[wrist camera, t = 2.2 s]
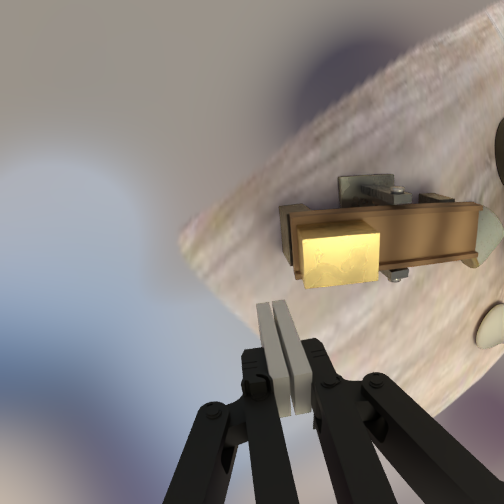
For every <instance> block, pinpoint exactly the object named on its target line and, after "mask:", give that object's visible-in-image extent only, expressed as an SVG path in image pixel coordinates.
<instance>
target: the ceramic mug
mask: <svg viewBox="0 0 504 504" xmlns="http://www.w3.org/2000/svg"><path fill="white" fill-rule="evenodd" d="M480 205H481V204H480ZM482 206H483V205H482ZM503 237H504V228H503V226H502V224H501V222H500V220H499V219H498V217H497V216H496V215H495V214H494V213H493V212H492V211H491V210H490V209H488V208H487V207H485V206H483V211H479V218H478V230H477V240H476V248H475V251H476V252H478V253H479V254H478V257H477V258H471V259H464V260H461V261H462V262H463V263H464V264H465V265H467V266H468V267H470V268H477V267H479V266H480V265H481V264H482V263H483V262H484V261H485V260H486V259H487V258H488V256H489V255H490V254H491V252H492V251H493V250H494V249H495V248H496V246H497V245H498V244H499V243H500V242H501V240H502V239H503Z"/></svg>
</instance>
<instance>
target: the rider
mask: <svg viewBox="0 0 504 504" xmlns="http://www.w3.org/2000/svg"><path fill="white" fill-rule="evenodd" d="M296 226H297V240H298V256H299V269H300V272H301V276H302V280H303V283H304V287H305V289H308V288H318V287H327V286H336V285H345V284H354V283H362V282H370V281H378V270H379V246H380V233H379V232H378V231H377V230H375V229H374V228H373V227H372V226H370V225H369V224H368V223H366V222H365V221H364V220H352V221H340V222H327V223H316V224H304V225H296Z"/></svg>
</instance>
